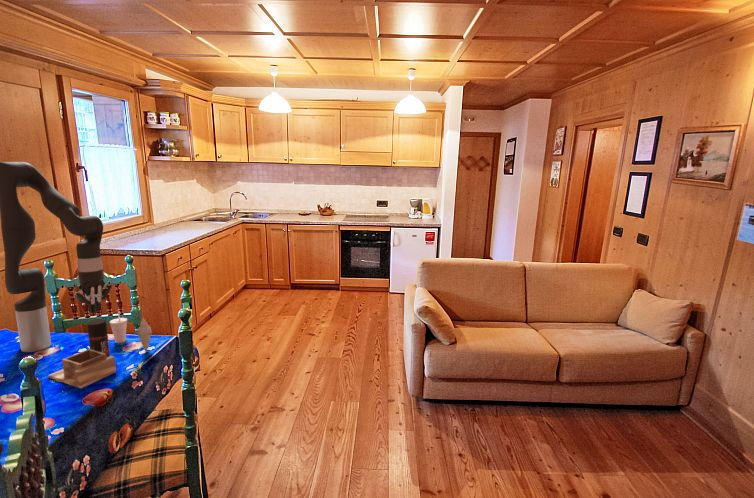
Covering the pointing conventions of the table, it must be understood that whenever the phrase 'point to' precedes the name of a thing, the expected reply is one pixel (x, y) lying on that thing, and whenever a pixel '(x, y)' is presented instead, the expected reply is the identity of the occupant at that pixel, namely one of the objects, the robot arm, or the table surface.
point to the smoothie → (119, 328)
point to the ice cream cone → (144, 333)
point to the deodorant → (98, 336)
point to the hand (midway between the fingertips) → (95, 312)
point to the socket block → (80, 361)
